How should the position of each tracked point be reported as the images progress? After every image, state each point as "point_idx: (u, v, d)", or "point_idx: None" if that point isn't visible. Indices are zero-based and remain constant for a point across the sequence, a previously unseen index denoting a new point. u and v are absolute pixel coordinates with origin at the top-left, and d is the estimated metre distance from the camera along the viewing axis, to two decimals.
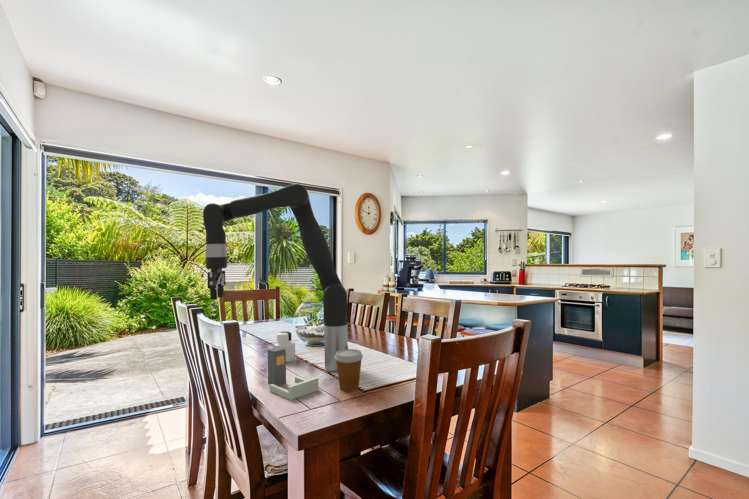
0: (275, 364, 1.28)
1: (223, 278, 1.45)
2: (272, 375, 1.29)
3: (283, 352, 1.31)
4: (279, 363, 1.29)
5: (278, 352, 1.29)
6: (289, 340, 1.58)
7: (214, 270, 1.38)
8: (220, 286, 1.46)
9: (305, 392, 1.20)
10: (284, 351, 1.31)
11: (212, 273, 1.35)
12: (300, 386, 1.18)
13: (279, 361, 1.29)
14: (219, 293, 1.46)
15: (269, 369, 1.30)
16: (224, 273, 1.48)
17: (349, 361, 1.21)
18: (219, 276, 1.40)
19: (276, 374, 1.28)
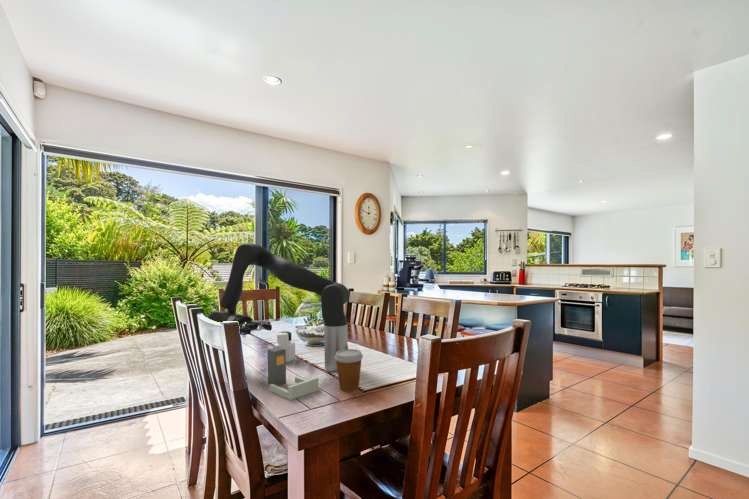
0: (275, 364, 1.28)
1: (256, 321, 1.46)
2: (272, 375, 1.29)
3: (283, 352, 1.31)
4: (279, 363, 1.29)
5: (278, 352, 1.29)
6: (289, 340, 1.58)
7: None
8: (264, 326, 1.44)
9: (305, 392, 1.20)
10: (284, 351, 1.31)
11: None
12: (300, 386, 1.18)
13: (279, 361, 1.29)
14: (267, 328, 1.42)
15: (269, 369, 1.30)
16: (262, 321, 1.49)
17: (349, 361, 1.21)
18: (243, 323, 1.43)
19: (276, 374, 1.28)
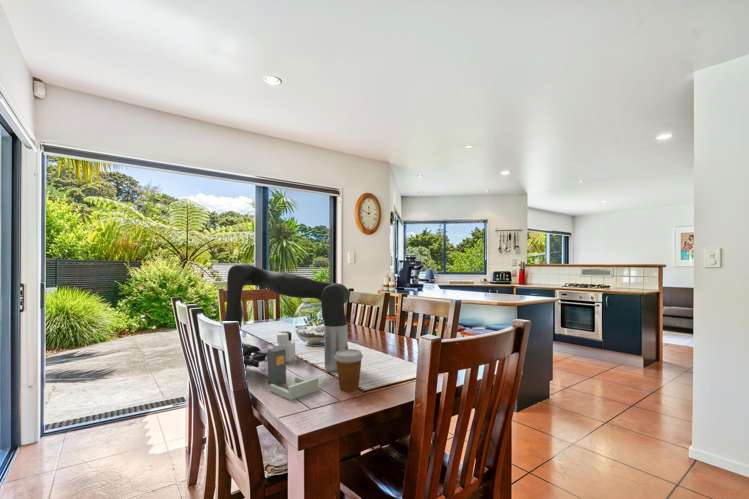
0: (275, 364, 1.28)
1: (264, 352, 1.42)
2: (272, 375, 1.29)
3: (283, 352, 1.31)
4: (279, 363, 1.29)
5: (278, 352, 1.29)
6: (289, 340, 1.58)
7: (244, 357, 1.40)
8: None
9: (305, 392, 1.20)
10: (284, 351, 1.31)
11: None
12: (300, 386, 1.18)
13: (279, 361, 1.29)
14: None
15: (269, 369, 1.30)
16: None
17: (349, 361, 1.21)
18: (251, 354, 1.39)
19: (276, 374, 1.28)
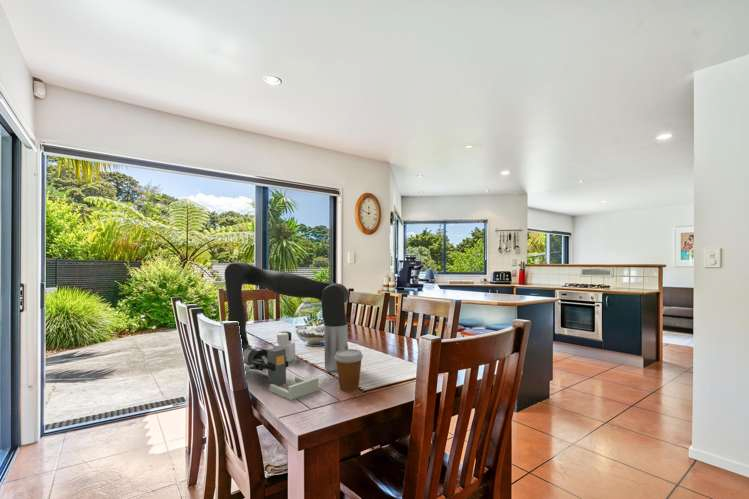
0: (275, 364, 1.28)
1: None
2: (272, 375, 1.29)
3: (283, 352, 1.31)
4: (279, 363, 1.29)
5: (278, 352, 1.29)
6: (289, 340, 1.58)
7: (254, 361, 1.35)
8: None
9: (305, 392, 1.20)
10: (284, 351, 1.31)
11: (249, 363, 1.31)
12: (300, 386, 1.18)
13: (279, 361, 1.29)
14: None
15: None
16: None
17: (349, 361, 1.21)
18: (262, 358, 1.34)
19: (276, 374, 1.28)
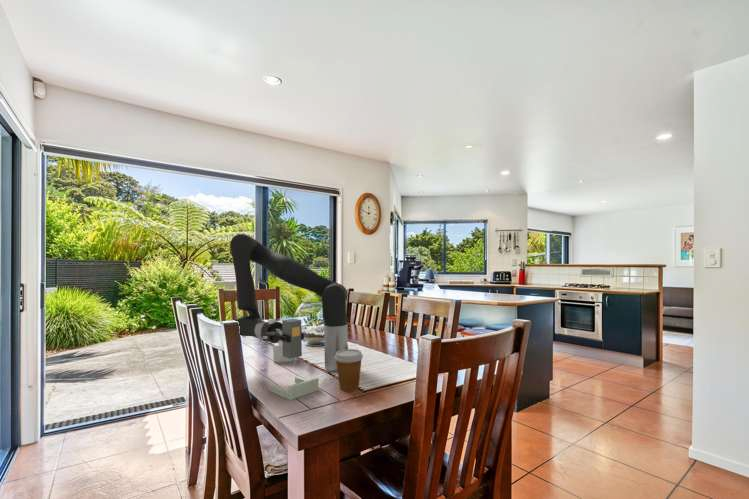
0: (291, 335, 1.21)
1: None
2: (287, 347, 1.22)
3: (298, 323, 1.24)
4: (295, 334, 1.22)
5: (294, 323, 1.22)
6: None
7: None
8: None
9: (305, 392, 1.20)
10: (300, 322, 1.24)
11: (263, 335, 1.24)
12: (300, 386, 1.18)
13: (295, 332, 1.22)
14: None
15: None
16: None
17: (349, 361, 1.21)
18: (276, 330, 1.27)
19: (291, 346, 1.22)
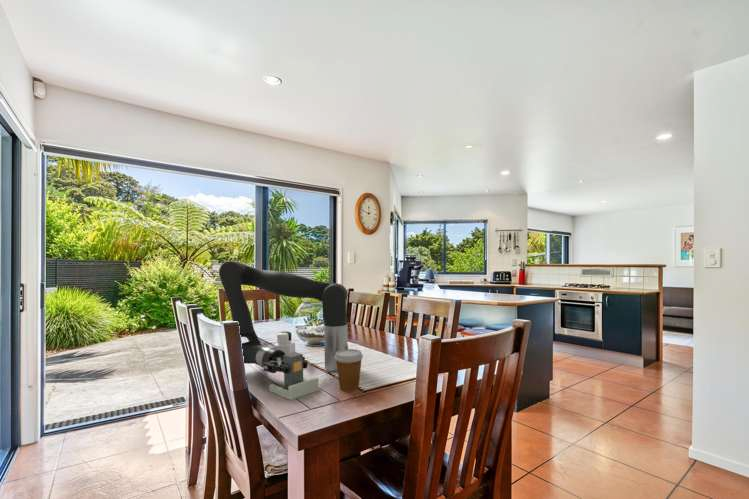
0: (292, 370, 1.21)
1: None
2: (289, 382, 1.22)
3: (300, 357, 1.23)
4: (296, 369, 1.22)
5: (295, 357, 1.22)
6: (289, 340, 1.58)
7: (269, 362, 1.27)
8: None
9: (305, 392, 1.20)
10: (301, 356, 1.24)
11: (263, 365, 1.24)
12: (300, 386, 1.18)
13: (297, 367, 1.22)
14: (303, 365, 1.26)
15: (286, 375, 1.23)
16: None
17: (349, 361, 1.21)
18: (276, 359, 1.27)
19: (293, 381, 1.21)
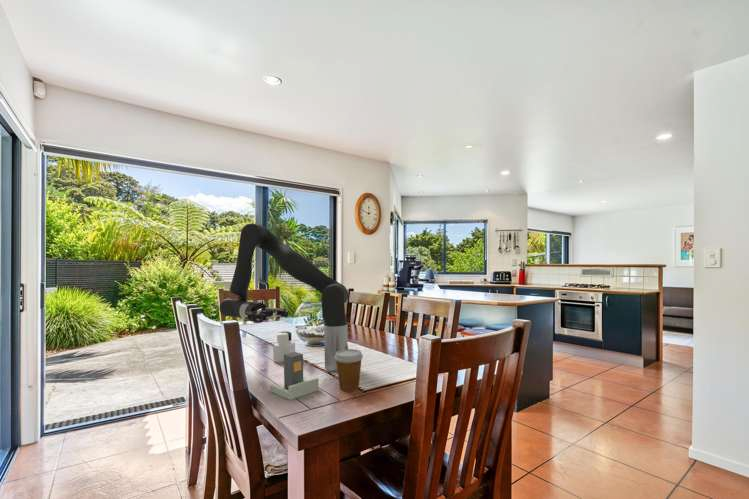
0: (292, 370, 1.21)
1: (271, 308, 1.38)
2: (289, 382, 1.22)
3: (300, 357, 1.23)
4: (296, 369, 1.22)
5: (295, 358, 1.22)
6: (289, 340, 1.58)
7: (251, 313, 1.36)
8: (280, 313, 1.37)
9: (305, 392, 1.20)
10: (301, 356, 1.24)
11: (245, 314, 1.33)
12: (300, 386, 1.18)
13: (297, 367, 1.22)
14: (283, 315, 1.35)
15: (286, 375, 1.23)
16: (276, 308, 1.42)
17: (349, 361, 1.21)
18: (258, 309, 1.35)
19: (293, 381, 1.21)
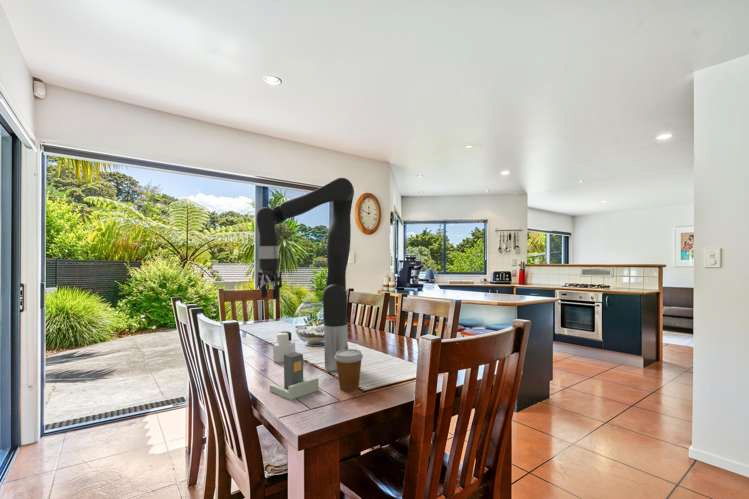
0: (292, 370, 1.21)
1: None
2: (289, 382, 1.22)
3: (300, 357, 1.23)
4: (296, 369, 1.22)
5: (295, 358, 1.22)
6: (289, 340, 1.58)
7: (275, 271, 1.46)
8: (264, 287, 1.51)
9: (305, 392, 1.20)
10: (301, 356, 1.24)
11: (279, 273, 1.44)
12: (300, 386, 1.18)
13: (297, 367, 1.22)
14: (263, 293, 1.51)
15: (286, 375, 1.23)
16: None
17: (349, 361, 1.21)
18: None
19: (293, 381, 1.21)
